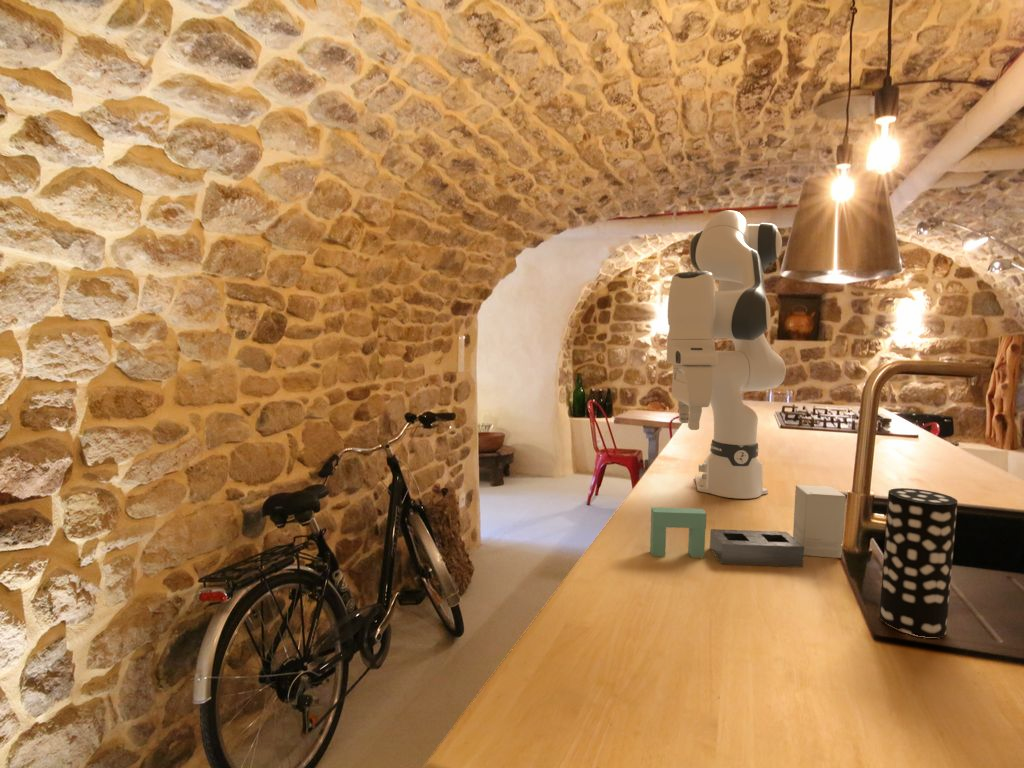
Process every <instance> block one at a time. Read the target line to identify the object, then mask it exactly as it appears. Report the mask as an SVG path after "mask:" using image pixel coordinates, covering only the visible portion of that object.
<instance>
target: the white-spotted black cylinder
mask: <svg viewBox="0 0 1024 768" xmlns="http://www.w3.org/2000/svg"><path fill="white" fill-rule="evenodd" d="M957 511H958V499H956V498H954V497H953V496H950V495H947V494H944V493H940V492H936V491H932V490H928V489H927V490H926V489H919V488H908V487H907V488H905V487H903V488H902V487H900V488H899V487H898V488H891V489H889V490H888V493H887V506H886V523H885V534H884V535H885V536H884V548H883V549H884V550H883V551H884V552H883V558H882V559H883V561H882V573H881V589H880V599H879V600H880V603H879V615H880V617H879V619H880V618H881V619H882V620H883V621H884V622H886V623H887V624H889V625H891V626H893V627H895V628H897V629H900V630H903V631H906V632H908V633H911V634H915V635H918V636H925V637H942V636H944V635H945V634H946V635H947V627H948V616H949V605H950V604H949V603H950V593H951V583H952V570H953V561H954V560H953V558H954V547H955V535H956V524H957V515H958V514H957ZM881 619H880V620H881ZM946 635H945V636H946ZM945 636H944V637H945ZM942 638H943V637H942Z"/></svg>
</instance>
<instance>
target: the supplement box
mask: <svg viewBox="0 0 1024 768" xmlns="http://www.w3.org/2000/svg"><path fill="white" fill-rule="evenodd" d="M794 493H795V494H794V511H793V531H792V537H793V538H794V539H796V540H797V541H798V542H799V543H800V544H801V545H803V546H804V556H811V557H822V558H834V559H842V558H841V555H842V556H843V549H842V547H841V544H842V541H843V542H844V533H845V532H844V531H845V529H844V528H845V513H846V499H847V496H846V495H845V494H843V493H842V492H841V491H840V490H838V489H836V488H835V487H834V486H827V485H806V484H804V485H803V484H796V485H795V491H794Z"/></svg>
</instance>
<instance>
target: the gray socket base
mask: <svg viewBox="0 0 1024 768" xmlns="http://www.w3.org/2000/svg"><path fill="white" fill-rule="evenodd" d="M709 531H710V532H709V533H710V534H709V535H710V536H709V549H710V548H711V549H710V551H711V550H712V551H713V552H712V551H711V552H712V554H715V555H716V556H715V555H714V556H715V558H716V559H717V558H718V559H719V560H718V559H717V560H718V562H719V561H720V562H721V563H720V562H719V563H720V565H728V564H734V566H735V564H736V566H755V567H756V566H761V567H780V568H781V567H783V568H803V567H804V556H805V555H804V546H803V545H801V544H800V543H799V542H798V541H797V540H796V539H794V538H793V535H791V534H790V533H789V532H787V531H779V530H778V531H773V530H751V529H750V530H746V529H719V528H718V529H717V528H716V529H715V528H711V529H710V530H709Z"/></svg>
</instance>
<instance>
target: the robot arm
mask: <svg viewBox="0 0 1024 768" xmlns="http://www.w3.org/2000/svg"><path fill="white" fill-rule="evenodd" d="M782 239H783V238H782V235H781V233H780V230H779V227H778V226H777V225H776V224H774V223H770V222H769V223H768V222H761V223H758V224H757V223H755V224H754V223H749V224H748V221H747V219H746V218H745V217H744V215H743V214H741V213H740V212H738V211H736V210H729V209H728V210H727V209H726V210H722V211H720V212H718V213H716V214H714V215H713V216H712V217H711V218H710V220H709V221H708V222H707V224H706V225H705V226H704V228H703V230H701V231H700V232H697V233H695V235H694V236H693V237H692V238H691V240H690V245H689V249H688V250H689V251H688V253H689V258H690V262H691V265H692V266H693V268H695V269H696V270H692V271H690V270H689V271H681V272H677V273H676V274H674V275H673V276H672V278H671V281H670V286H669V293H668V300H667V302H668V303H667V321H668V322H667V323H668V326H669V328H668V333H667V337H666V339H667V340H666V364H671V365H672V381H671V396H672V398H673V399H675V400H676V401H677V407H678V408H677V409H678V421H679V422H680V423H681V424H687V428H688V429H689V430H691V431H698V430H699V429H700V420H701V416H702V413H703V408H709V407H710V405H711V408H712V409H711V410H712V415H713V439H711V443H710V450H709V451H710V453H709V454H708V456H707V457H706V459H704V461H703V463H698V472H699V473H701V474H696V475H695V476H694V480H695V485H696V490H697V491H698V492H701V493H706V494H712V495H714V496H718V497H721V498H722V497H723V498H729V499H730V498H731V499H739V500H740V499H743V500H744V499H746V500H747V499H756V498H759V497H761V496H762V495H765V494H766V495H767V494H768V493H769V491H768V490H769V489H768V488H766V487H764V481H763V480H764V476H763V473H764V471H763V468H764V467H763V463H762V462H761V461H760V460H759V459H758V456H759V449H760V448H759V443H758V441H757V439H758V424H759V422H758V421H759V417H758V415H757V413H756V411H754V409H753V408H751V407H749V406H748V405H746V404H745V403H744V402H743V400H742V396H741V395H742V394H741V392H762V391H766V390H767V391H768V390H771V389H776V388H778V387H780V385H782V383H783V382H784V380H785V378H786V373H787V367H786V364H785V361H784V359H783V358H782V357H781V356H780V355H779V354H778V353H777V352H775V350H774V349H773V348H772V347H771V345H770V344H769V342H768V339H767V338H766V335H765V332H767V330H768V327H769V325H770V322H771V307H770V302H769V300H768V298H767V296H766V288H765V278H764V272H766V271H767V268H768V267H770V266H772V265H774V264H775V262H777V260H778V258H779V256H780V254H781V251H782V247H783V246H782V245H783V240H782ZM715 281H718V285H717V286H718V287H717V291H716V288H715ZM717 339H719V340H722V339H724V340H725V339H728V340H729V339H730V340H731V341H732V343H733V346H734V350H716V344H715V343H716V340H717Z"/></svg>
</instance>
